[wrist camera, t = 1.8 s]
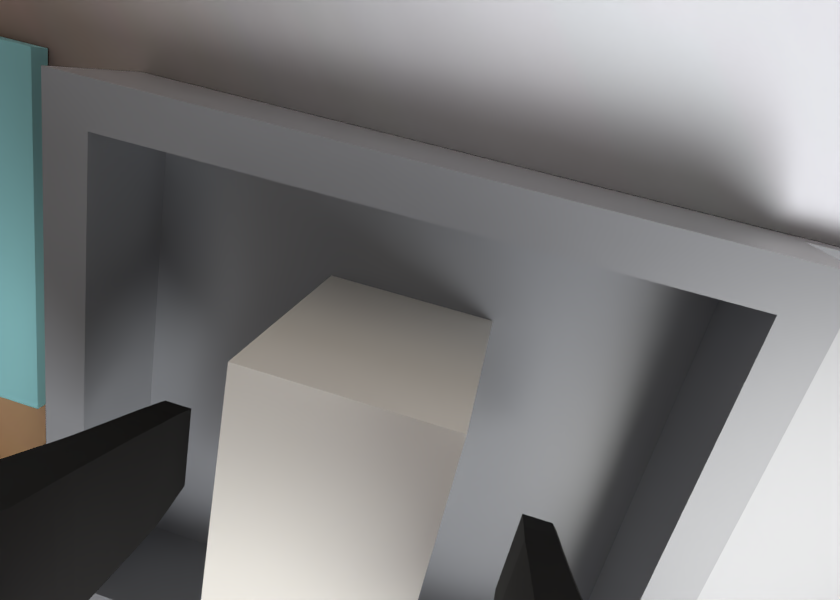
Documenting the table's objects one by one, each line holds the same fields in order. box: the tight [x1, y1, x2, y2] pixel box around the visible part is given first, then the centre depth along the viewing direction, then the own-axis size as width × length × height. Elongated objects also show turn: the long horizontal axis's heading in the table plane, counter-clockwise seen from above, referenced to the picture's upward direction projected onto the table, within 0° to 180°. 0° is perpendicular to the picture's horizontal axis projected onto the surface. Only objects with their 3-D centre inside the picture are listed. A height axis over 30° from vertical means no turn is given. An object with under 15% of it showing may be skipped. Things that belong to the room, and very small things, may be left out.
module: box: [201, 276, 492, 600], centre depth 13 cm, size 7×4×5 cm, turn 168°
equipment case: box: [41, 65, 840, 600], centre depth 13 cm, size 14×30×3 cm, turn 78°
